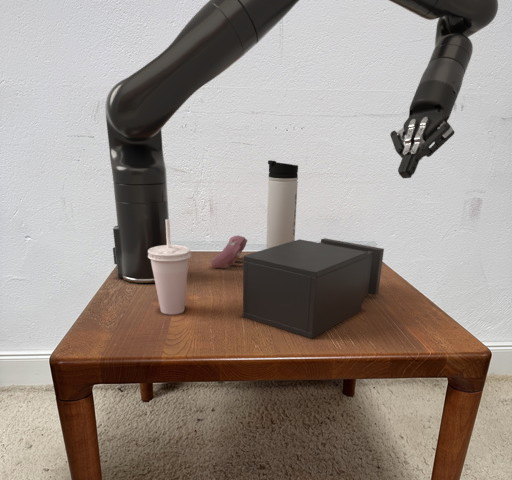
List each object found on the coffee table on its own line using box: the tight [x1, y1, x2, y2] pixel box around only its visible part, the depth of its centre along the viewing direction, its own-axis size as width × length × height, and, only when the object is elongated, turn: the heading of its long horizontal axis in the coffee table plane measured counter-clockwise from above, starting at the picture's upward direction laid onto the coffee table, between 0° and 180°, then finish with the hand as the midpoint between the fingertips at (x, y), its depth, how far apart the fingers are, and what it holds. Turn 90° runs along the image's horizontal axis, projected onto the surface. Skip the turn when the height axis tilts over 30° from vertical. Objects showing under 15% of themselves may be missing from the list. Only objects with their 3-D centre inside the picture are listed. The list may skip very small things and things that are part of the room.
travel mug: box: [265, 159, 299, 249], centre depth 106 cm, size 6×7×20 cm
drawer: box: [319, 237, 385, 298], centre depth 82 cm, size 18×11×8 cm, turn 141°
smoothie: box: [148, 218, 192, 315], centre depth 74 cm, size 6×6×14 cm
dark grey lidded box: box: [242, 239, 368, 339], centre depth 75 cm, size 15×13×10 cm
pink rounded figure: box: [210, 234, 248, 269], centre depth 101 cm, size 10×5×7 cm, turn 168°
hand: (404, 175), depth 90 cm, fingers closed
